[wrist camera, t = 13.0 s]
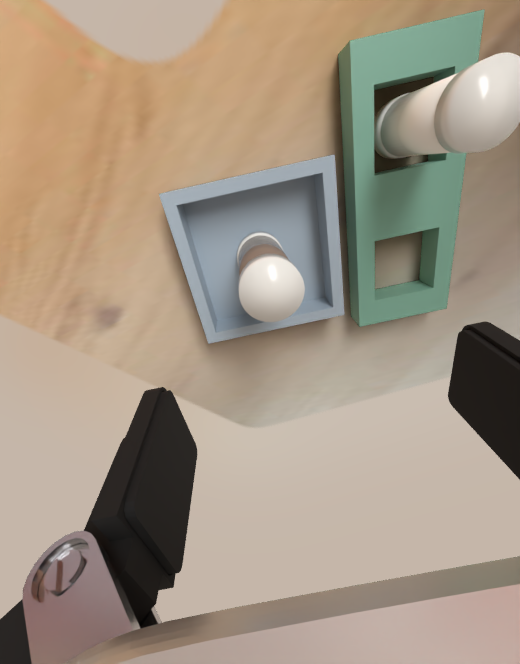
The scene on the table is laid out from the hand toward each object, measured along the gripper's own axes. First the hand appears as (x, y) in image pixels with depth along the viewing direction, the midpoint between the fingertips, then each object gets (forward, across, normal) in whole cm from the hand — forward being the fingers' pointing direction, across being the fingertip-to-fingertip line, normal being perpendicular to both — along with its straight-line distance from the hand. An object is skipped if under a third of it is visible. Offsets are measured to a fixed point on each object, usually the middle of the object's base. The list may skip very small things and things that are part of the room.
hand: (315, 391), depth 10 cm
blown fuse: (+20, 0, 0) cm, 20 cm away
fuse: (+21, -13, -7) cm, 25 cm away
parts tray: (+21, 0, 0) cm, 21 cm away
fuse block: (+21, -13, -2) cm, 25 cm away
